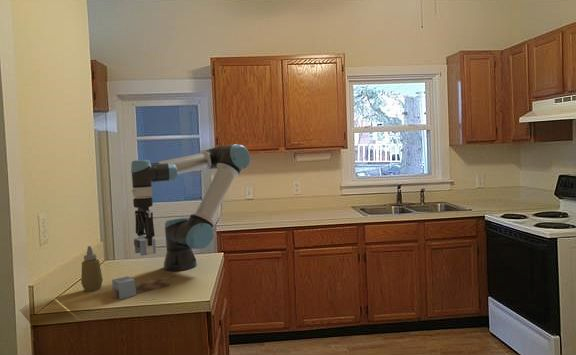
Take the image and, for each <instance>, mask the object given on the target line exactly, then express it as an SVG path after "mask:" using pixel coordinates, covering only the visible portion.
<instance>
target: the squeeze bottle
mask: <svg viewBox="0 0 576 355" xmlns="http://www.w3.org/2000/svg"><path fill="white" fill-rule="evenodd" d="M80 279H81V280H80V281H81V282H80V284H81V286H82V288H83V290H84V291H85V292H88V293H89V292H95V291H99V290H100V289H101V288H102V286H103V285H102V284H103V280H104V279H103V274H102V268H101V264H100V260H99V259H97V254H96V253H94V251H93V249H92V246H91V245H89V246H87V249H86V254H85V255H84V256H83V261H82V262H81V278H80Z"/></svg>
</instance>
